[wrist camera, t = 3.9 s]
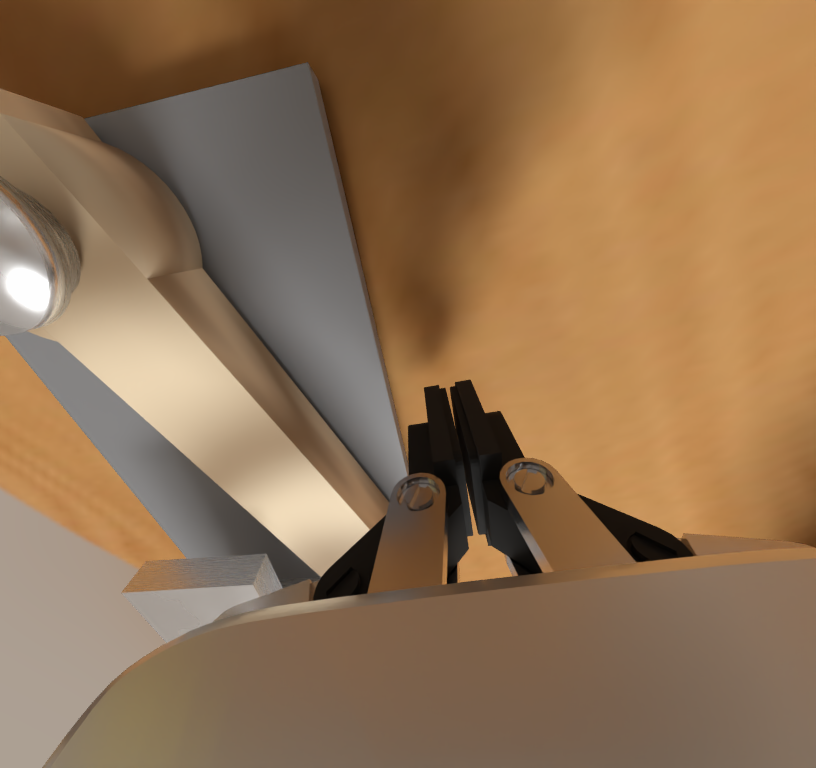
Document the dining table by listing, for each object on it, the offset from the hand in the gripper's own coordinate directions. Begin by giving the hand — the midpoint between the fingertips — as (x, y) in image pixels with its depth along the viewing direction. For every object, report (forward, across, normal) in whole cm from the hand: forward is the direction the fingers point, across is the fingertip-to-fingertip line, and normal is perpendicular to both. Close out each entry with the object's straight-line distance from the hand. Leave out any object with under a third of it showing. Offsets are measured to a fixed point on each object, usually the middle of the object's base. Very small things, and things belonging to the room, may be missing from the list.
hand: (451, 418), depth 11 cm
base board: (+3, +9, +2) cm, 10 cm away
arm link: (+1, +7, -1) cm, 8 cm away
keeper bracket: (+2, +11, +9) cm, 14 cm away
